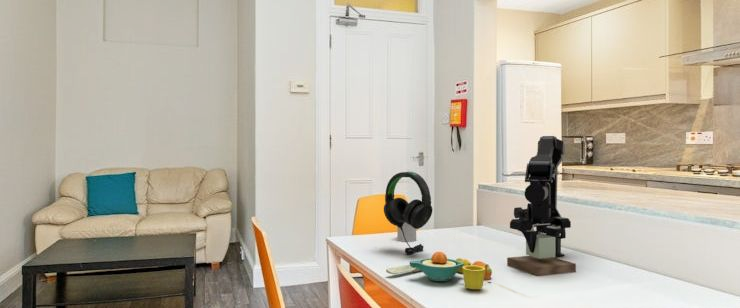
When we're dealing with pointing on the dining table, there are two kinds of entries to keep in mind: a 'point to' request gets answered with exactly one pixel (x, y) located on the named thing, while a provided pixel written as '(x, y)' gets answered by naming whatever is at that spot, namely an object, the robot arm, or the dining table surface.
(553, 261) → the walnut plinth
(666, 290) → the dining table surface
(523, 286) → the dining table surface
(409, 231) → the grey block
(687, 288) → the dining table surface
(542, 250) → the sage block
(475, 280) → the toy juicer set
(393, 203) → the headset
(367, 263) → the dining table surface
